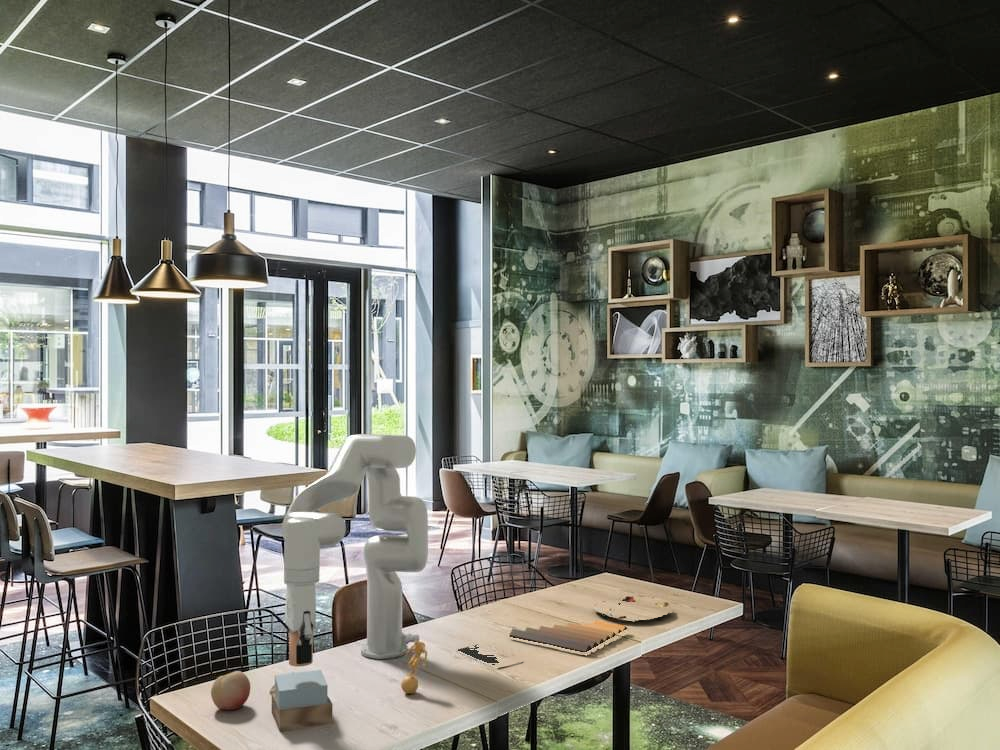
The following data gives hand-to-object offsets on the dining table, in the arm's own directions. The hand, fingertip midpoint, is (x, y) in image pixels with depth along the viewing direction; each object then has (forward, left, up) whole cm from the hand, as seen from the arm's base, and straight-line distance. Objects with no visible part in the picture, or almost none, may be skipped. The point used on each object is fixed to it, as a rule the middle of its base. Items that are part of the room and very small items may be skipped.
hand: (301, 658), depth 173 cm
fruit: (+13, -12, -13) cm, 22 cm away
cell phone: (-54, -18, -13) cm, 59 cm away
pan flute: (-82, -23, -14) cm, 87 cm away
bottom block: (0, 0, -13) cm, 13 cm away
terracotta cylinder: (0, 0, -1) cm, 1 cm away
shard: (0, -19, -14) cm, 23 cm away
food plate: (-113, -35, -13) cm, 119 cm away
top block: (0, 0, -9) cm, 9 cm away
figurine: (-27, -3, -13) cm, 30 cm away
